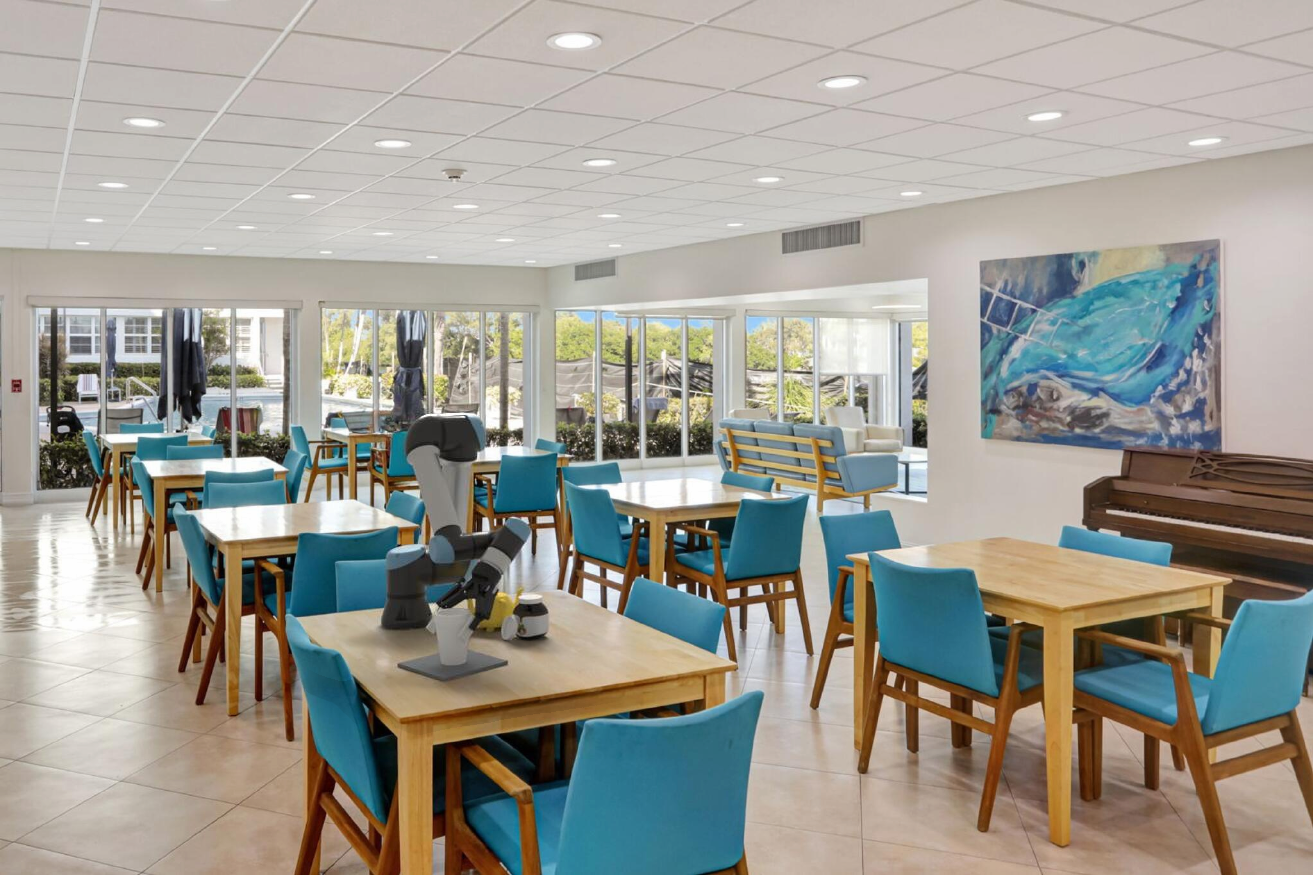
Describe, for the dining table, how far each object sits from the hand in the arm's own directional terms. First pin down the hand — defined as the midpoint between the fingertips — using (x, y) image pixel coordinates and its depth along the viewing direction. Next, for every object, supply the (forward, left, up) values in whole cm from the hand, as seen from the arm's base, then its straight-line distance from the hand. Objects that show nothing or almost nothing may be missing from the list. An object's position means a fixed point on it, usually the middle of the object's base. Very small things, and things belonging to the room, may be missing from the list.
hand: (445, 635), depth 262 cm
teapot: (-22, +34, -8) cm, 42 cm away
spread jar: (-7, +32, -8) cm, 34 cm away
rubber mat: (0, +2, -8) cm, 9 cm away
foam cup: (0, +2, -8) cm, 8 cm away
